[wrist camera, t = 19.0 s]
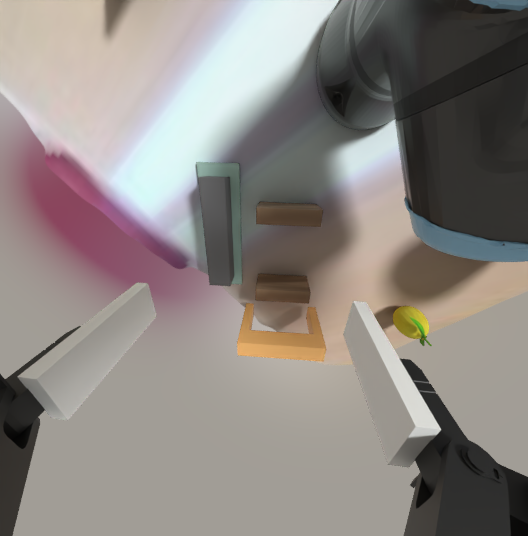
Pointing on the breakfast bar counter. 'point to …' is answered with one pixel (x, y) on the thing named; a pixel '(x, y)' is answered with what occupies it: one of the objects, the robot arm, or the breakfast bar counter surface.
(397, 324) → the lemon
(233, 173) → the mat
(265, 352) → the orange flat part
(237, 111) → the breakfast bar counter surface
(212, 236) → the grey rectangular bar
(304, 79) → the breakfast bar counter surface
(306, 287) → the cradle
